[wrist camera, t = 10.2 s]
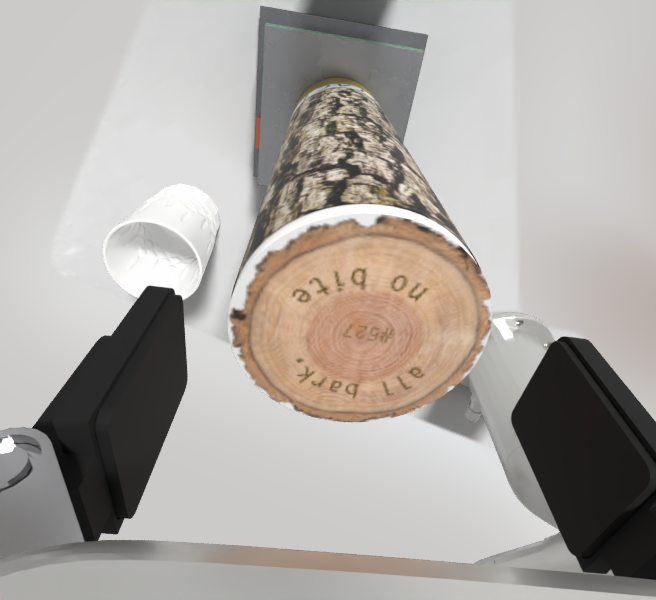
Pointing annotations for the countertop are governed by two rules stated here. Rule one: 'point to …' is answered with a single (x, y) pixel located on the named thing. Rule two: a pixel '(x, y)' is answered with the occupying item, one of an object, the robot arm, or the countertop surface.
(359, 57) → the stand
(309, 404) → the paper tube
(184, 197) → the white cup
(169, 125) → the countertop surface
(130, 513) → the robot arm
